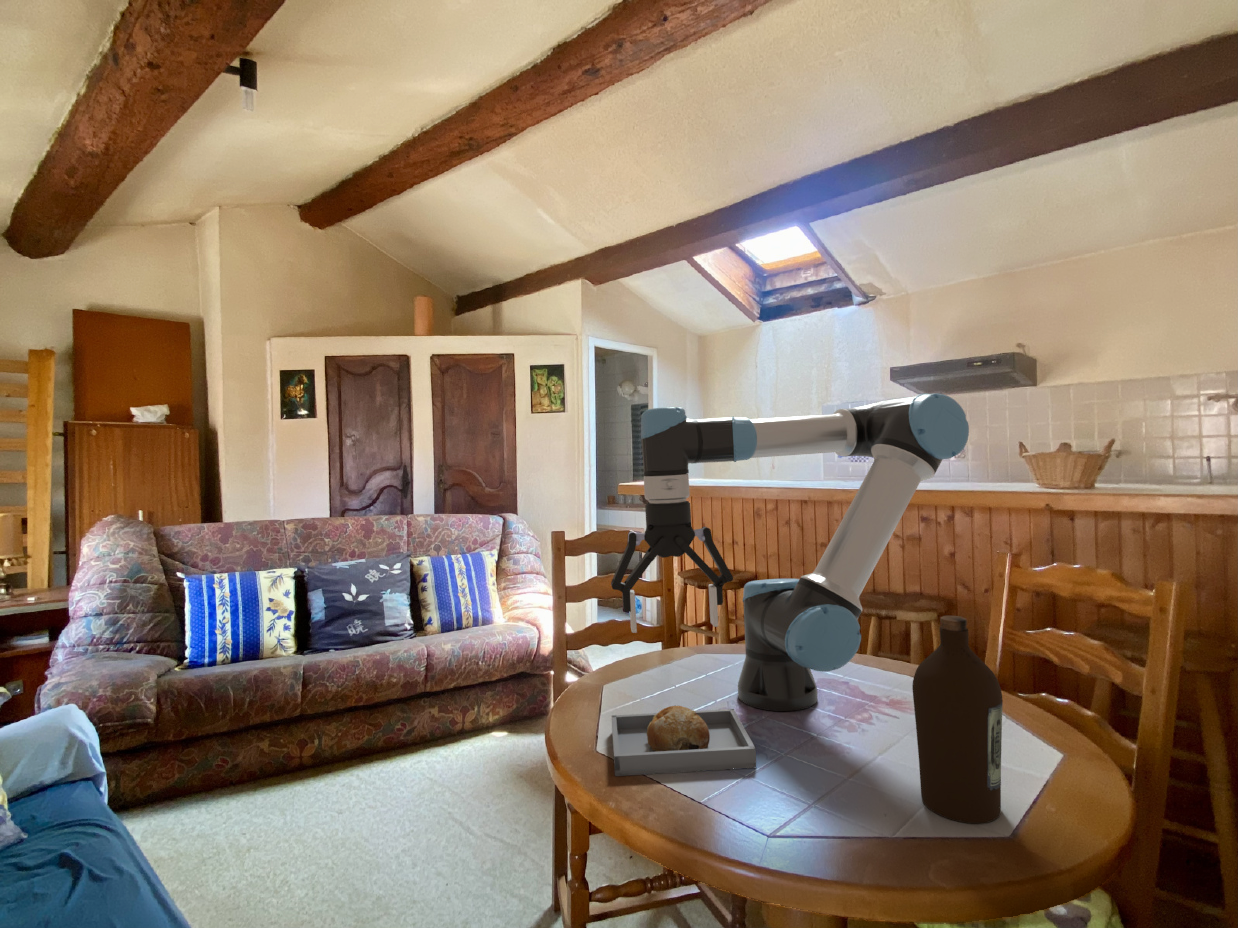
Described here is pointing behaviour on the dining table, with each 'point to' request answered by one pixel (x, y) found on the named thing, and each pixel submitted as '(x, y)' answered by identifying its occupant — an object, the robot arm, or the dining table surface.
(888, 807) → the dining table surface
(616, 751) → the tray
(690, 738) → the bread roll
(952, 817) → the olive oil
